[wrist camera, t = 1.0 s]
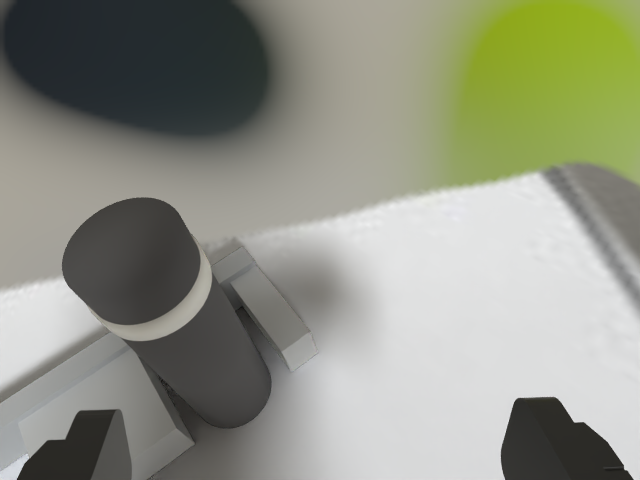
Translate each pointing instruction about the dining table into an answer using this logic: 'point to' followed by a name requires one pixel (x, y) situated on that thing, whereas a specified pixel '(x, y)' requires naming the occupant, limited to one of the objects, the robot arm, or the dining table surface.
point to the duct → (142, 380)
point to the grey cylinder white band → (168, 307)
